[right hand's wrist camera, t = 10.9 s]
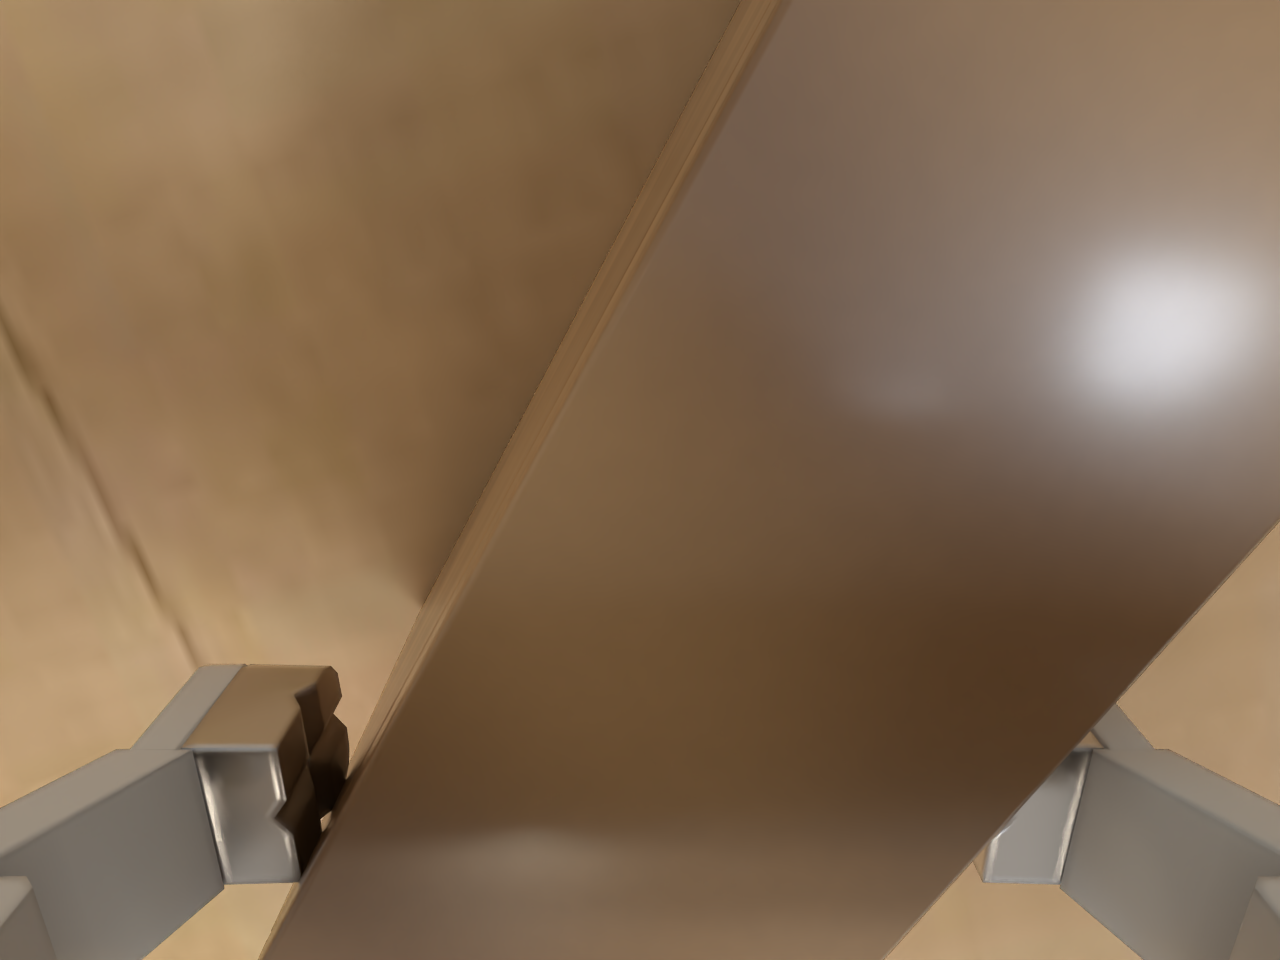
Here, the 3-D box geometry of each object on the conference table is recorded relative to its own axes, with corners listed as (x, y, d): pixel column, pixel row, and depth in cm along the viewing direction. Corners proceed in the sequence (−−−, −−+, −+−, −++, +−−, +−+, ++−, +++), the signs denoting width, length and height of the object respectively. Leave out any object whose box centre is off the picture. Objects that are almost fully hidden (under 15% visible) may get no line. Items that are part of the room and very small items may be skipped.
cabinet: (1048, -585, 10) (2127, -2498, 3) (1378, -306, 11) (2824, -1179, 4) (420, 610, 17) (234, 1008, 9) (671, 726, 17) (695, 1173, 10)
